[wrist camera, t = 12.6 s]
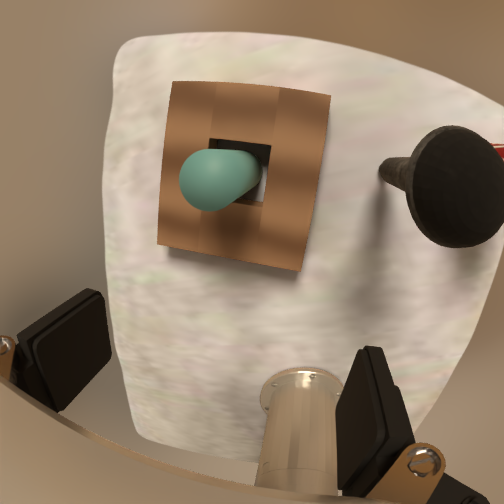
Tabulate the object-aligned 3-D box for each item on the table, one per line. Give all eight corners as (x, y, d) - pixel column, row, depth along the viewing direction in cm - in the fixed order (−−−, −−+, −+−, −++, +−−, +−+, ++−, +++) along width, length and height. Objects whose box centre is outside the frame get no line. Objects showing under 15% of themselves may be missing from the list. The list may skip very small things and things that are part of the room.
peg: (259, 193, 32) (235, 216, 20) (219, 187, 32) (176, 206, 21) (265, 153, 30) (243, 152, 19) (224, 148, 31) (182, 146, 19)
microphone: (398, 128, 27) (514, 108, 8) (419, 187, 28) (540, 238, 10) (342, 150, 29) (408, 145, 10) (366, 209, 30) (447, 290, 12)
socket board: (300, 261, 33) (300, 271, 31) (168, 236, 35) (157, 244, 32) (328, 100, 27) (331, 95, 24) (183, 86, 29) (172, 81, 26)
